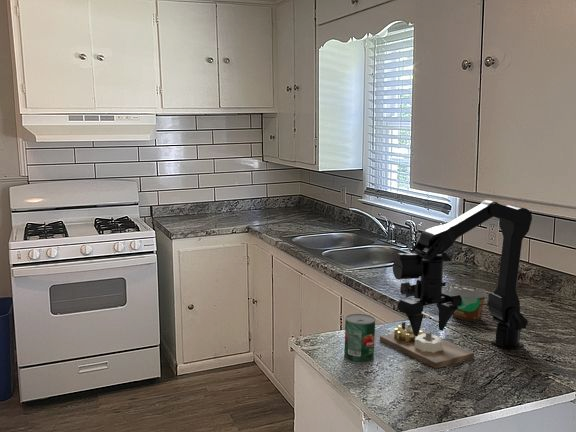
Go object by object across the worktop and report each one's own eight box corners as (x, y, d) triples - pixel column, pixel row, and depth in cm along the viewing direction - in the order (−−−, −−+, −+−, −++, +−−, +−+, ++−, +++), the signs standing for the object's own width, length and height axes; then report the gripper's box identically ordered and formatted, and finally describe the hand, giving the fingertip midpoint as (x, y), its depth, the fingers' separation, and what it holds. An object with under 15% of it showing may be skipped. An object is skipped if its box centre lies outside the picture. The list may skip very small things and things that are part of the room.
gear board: (416, 332, 177) (417, 315, 176) (473, 358, 159) (475, 338, 158) (379, 341, 170) (380, 322, 169) (435, 368, 152) (436, 348, 151)
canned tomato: (343, 352, 162) (344, 313, 160) (372, 352, 161) (373, 313, 160) (344, 363, 154) (346, 323, 152) (375, 364, 153) (377, 323, 152)
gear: (408, 331, 174) (409, 318, 173) (427, 339, 167) (427, 326, 167) (388, 336, 170) (389, 322, 169) (406, 344, 164) (407, 330, 163)
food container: (440, 315, 194) (442, 286, 192) (449, 311, 198) (451, 282, 196) (476, 325, 185) (478, 293, 184) (485, 320, 190) (487, 290, 188)
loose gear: (428, 340, 167) (428, 332, 167) (448, 349, 161) (448, 340, 160) (408, 345, 163) (409, 336, 163) (428, 354, 157) (428, 345, 157)
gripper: (435, 266, 170) (432, 319, 173) (384, 274, 161) (382, 329, 163) (464, 275, 161) (461, 330, 163) (413, 284, 151) (410, 342, 154)
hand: (428, 333), depth 161 cm, fingers open, 9 cm apart
